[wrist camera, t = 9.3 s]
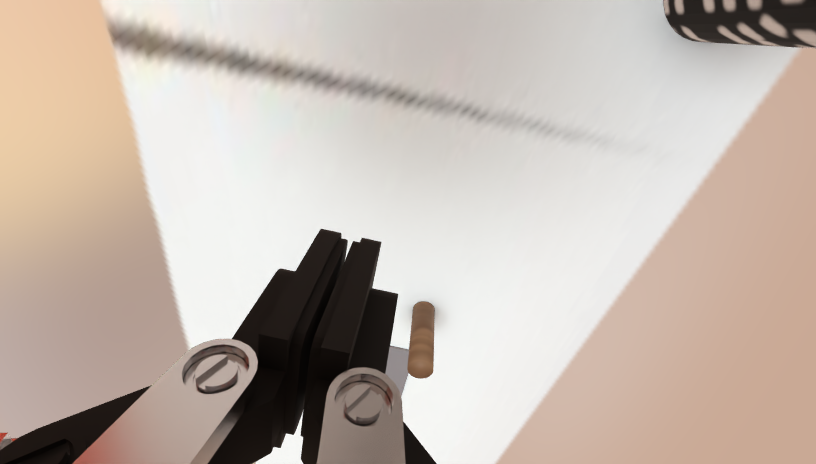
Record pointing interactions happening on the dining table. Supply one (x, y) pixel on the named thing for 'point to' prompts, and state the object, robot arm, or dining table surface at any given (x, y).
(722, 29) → the white-spotted black cylinder
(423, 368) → the post
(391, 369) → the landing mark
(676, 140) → the dining table surface
